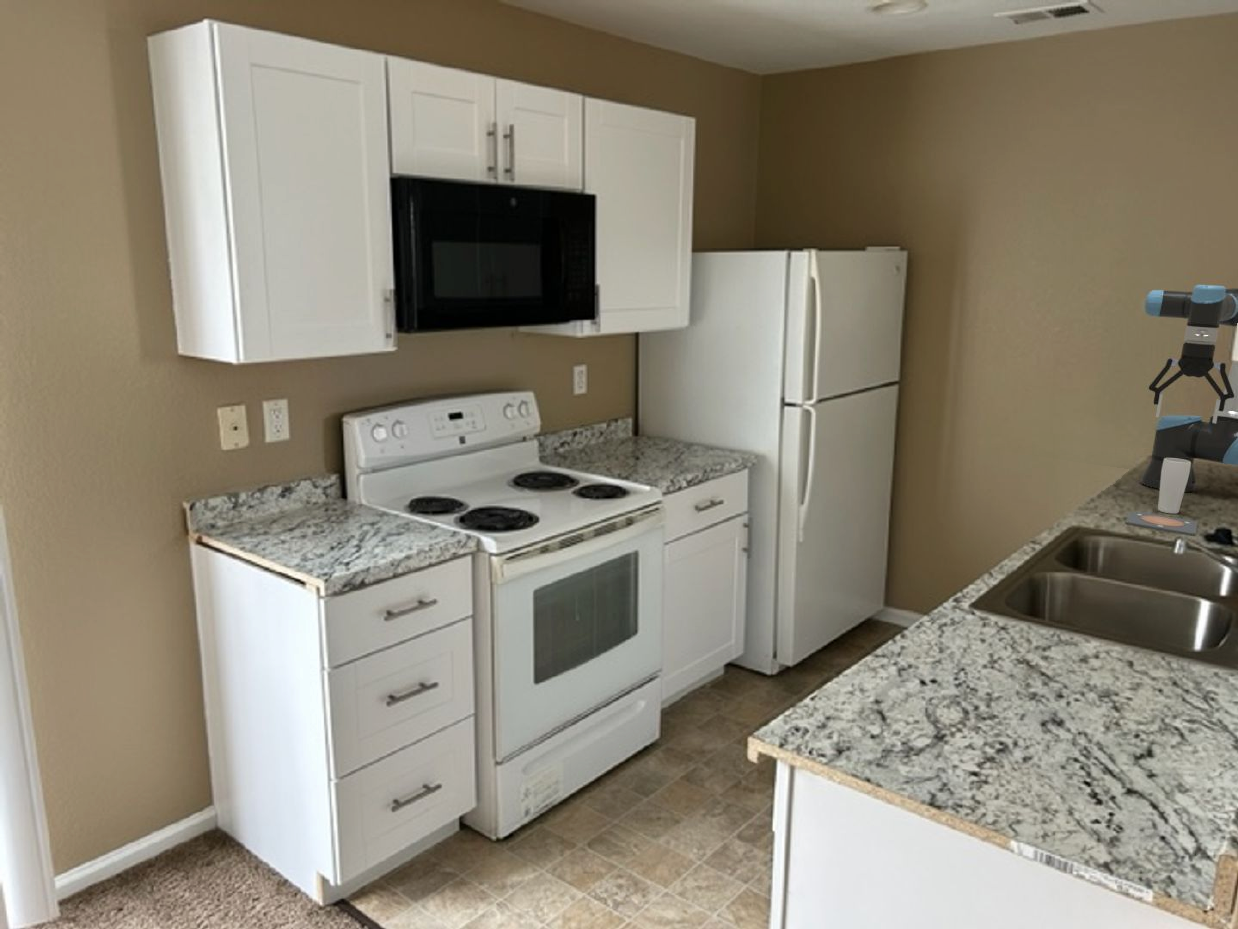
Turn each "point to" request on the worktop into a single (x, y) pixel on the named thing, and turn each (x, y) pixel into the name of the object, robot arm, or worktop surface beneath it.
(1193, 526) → the coaster mat
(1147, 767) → the worktop surface
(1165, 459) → the drinking glass
